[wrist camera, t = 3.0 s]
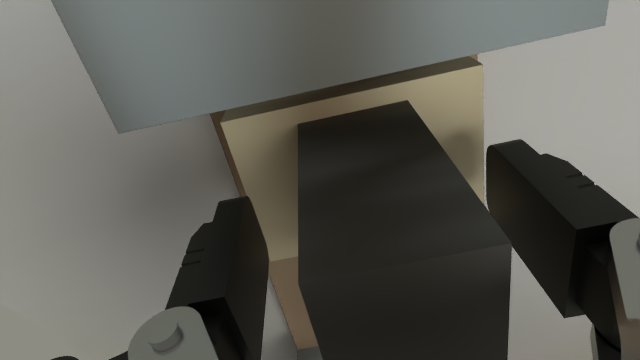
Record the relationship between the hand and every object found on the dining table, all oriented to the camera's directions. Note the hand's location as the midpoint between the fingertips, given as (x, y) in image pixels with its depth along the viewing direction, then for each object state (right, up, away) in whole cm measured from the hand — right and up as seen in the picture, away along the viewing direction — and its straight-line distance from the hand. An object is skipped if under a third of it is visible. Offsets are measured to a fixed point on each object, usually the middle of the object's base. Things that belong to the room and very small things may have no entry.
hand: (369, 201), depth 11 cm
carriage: (0, +2, +3) cm, 4 cm away
